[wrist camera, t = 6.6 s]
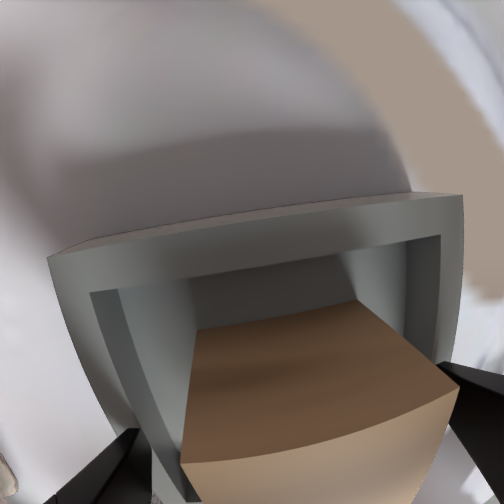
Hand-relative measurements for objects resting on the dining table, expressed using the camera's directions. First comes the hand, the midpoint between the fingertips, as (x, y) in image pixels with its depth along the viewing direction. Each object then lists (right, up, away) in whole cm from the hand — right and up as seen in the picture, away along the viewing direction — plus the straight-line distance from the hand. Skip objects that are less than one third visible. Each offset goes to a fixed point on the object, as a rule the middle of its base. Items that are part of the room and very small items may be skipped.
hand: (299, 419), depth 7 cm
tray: (0, +1, +3) cm, 3 cm away
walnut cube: (0, 0, +2) cm, 2 cm away
